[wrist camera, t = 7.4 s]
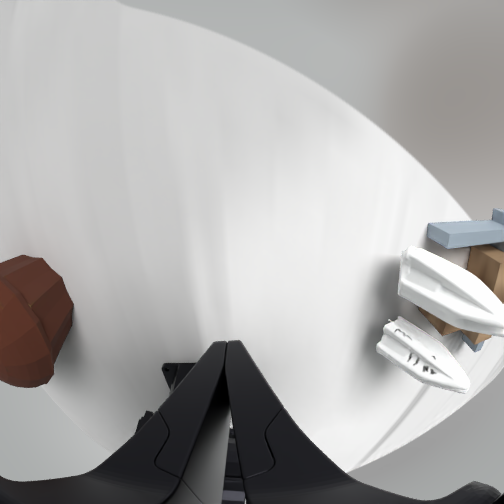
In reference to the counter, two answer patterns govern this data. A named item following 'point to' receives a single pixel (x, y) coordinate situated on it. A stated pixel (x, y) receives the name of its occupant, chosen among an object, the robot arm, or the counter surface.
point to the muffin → (31, 320)
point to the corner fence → (470, 240)
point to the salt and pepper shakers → (444, 307)
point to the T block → (490, 273)
